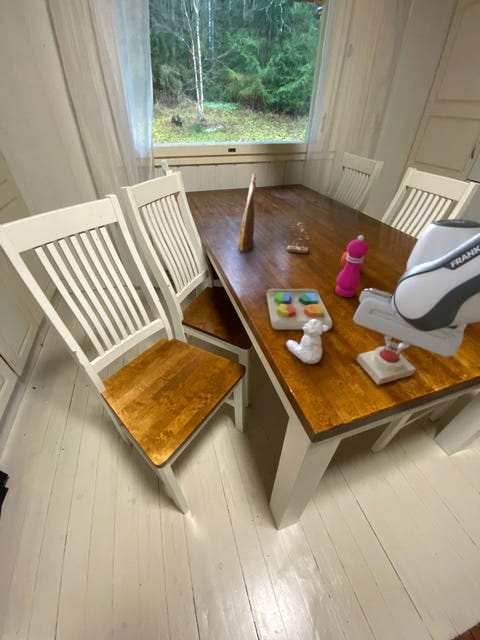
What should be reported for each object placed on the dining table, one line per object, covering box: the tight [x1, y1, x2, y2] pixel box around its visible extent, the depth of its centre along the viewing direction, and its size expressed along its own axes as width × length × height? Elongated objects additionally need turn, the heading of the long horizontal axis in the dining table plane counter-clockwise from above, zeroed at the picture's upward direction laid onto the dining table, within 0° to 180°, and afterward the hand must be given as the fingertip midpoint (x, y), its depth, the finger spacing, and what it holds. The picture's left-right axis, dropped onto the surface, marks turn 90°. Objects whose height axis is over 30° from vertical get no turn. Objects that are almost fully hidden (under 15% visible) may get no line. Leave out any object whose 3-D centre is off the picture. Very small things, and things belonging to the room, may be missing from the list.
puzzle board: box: [266, 288, 333, 331], centre depth 83 cm, size 18×19×4 cm
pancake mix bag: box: [238, 172, 257, 253], centre depth 114 cm, size 7×19×28 cm, turn 170°
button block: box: [356, 345, 417, 386], centre depth 66 cm, size 10×8×4 cm
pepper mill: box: [335, 234, 370, 298], centre depth 87 cm, size 7×7×20 cm
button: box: [381, 348, 401, 363], centre depth 64 cm, size 4×4×2 cm
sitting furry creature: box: [285, 319, 329, 365], centre depth 66 cm, size 10×9×12 cm
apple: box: [340, 250, 365, 269], centre depth 104 cm, size 8×8×8 cm
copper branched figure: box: [286, 222, 310, 254], centre depth 115 cm, size 9×4×12 cm, turn 77°
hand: (391, 350), depth 63 cm, fingers closed
